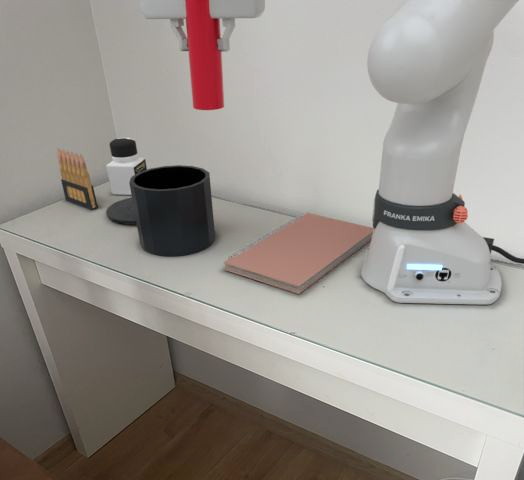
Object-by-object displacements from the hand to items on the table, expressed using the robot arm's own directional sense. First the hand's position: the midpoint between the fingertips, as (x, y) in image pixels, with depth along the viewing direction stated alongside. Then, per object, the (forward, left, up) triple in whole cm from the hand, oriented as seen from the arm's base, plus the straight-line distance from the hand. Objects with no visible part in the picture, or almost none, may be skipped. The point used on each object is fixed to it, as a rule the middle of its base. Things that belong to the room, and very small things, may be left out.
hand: (205, 51), depth 87 cm
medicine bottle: (+31, -21, -33) cm, 50 cm away
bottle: (0, 0, -9) cm, 9 cm away
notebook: (-18, +4, -33) cm, 37 cm away
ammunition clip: (+38, -10, -33) cm, 51 cm away
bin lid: (+21, -8, -32) cm, 39 cm away
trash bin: (+7, +4, -32) cm, 33 cm away
